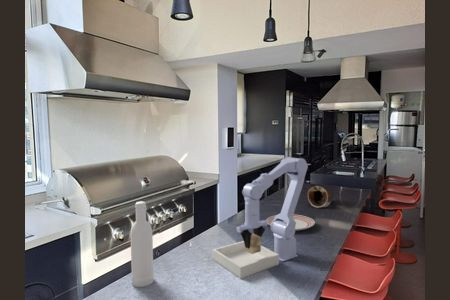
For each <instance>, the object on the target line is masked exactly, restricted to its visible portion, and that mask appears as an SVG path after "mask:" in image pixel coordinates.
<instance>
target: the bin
mask: <svg viewBox="0 0 450 300" xmlns="http://www.w3.org/2000/svg"><path fill="white" fill-rule="evenodd" d="M211 250H212V251H211V253H212V261H214V262H215V263H217V264H219V265H220V266H221V267H222V268H224V269H225V270H227V271H229V272H230V273H231V274H233V275H234V276H236V278H238V279H240V280H241V279H244V278H245V279H246V278H247V277H249V276H253V275H255V274H256V275H257V274H258V273H261V272H263V271H266V270H269V269H273V268H274V267H278V266H279V265H280V260H279V254H277V253H275V252H274V250H272V249H269V248H267V247H264V246H263V245H261V251H260V252H257V253H254V254H251V253H249V252H247V251H246V250H245V244H244V240H242V241H238V242H235V243H230V244H228V245H224V246H220V247H216V248H213V249H211Z"/></svg>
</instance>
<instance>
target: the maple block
mask: <svg viewBox="0 0 450 300" xmlns="http://www.w3.org/2000/svg"><path fill="white" fill-rule="evenodd" d="M261 241H262V237H260V236H258V235H255V234H254V233H252V235H251V238H250V248H249V249H248V248H246V247H245V250H246V251H247V252H249V253H251V254H254V253H257V252H260V251H261V246H262V242H261Z"/></svg>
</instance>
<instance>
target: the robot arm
mask: <svg viewBox="0 0 450 300" xmlns="http://www.w3.org/2000/svg"><path fill="white" fill-rule="evenodd" d="M308 167H309V166H308V163H307V160H306V159H305V158H302V157H300V158H299V157H298V158H297V157H291V156H285V157H284V158H283V159H281V160H280V163H279V164H278V165H276V166H275V167H274V168H273V169H272V170H271V171H269V172H268V173H266V172H265V173H261V174H260V176H259V177H257V178H256V179H253V180H252V182H251V183H249V182H248V183H246V184H245V185H244V186H243V189H242V190H241V193H242V195H243V198H244V212H245V213H244V219H245V220H244V223H242V224H241V225H239V226H236V233H238V234H240V236H241V237H242V241H244V244H245V247H246V248H248V249H249V248H250V238H251V235H252V234H255V235H258V236H260V237H261V238H262V237H263V235H264V233H265V231H266V228H265V227H268V224H267V221H266V219H265V220H260V199H261V198H262V196H263V193H265V191H266V190H268V189H269V188H270V187H271V186H273V184H274V181H275V180H276V179H278V178H280V177H281V176H282V175H284V174H287V175H288V177H289V178H290V182H289V186H288V189H287V191H286V196H285V198H284V202H283V205H282V208H281V210H280V213H278V214H275V215H276V216H275V215H274V216H275V219H274V221H273V222H272V224H271V225H270V231H271V232H272V233H273V236H274V237H273V238H274V239H273V243H274V244H273V246H274V247H273V248H274V249H273V252H275V253H277V254H279V262H280V261H281V262H285V261H289V260H291V259H294V258H297V257H298V254H297V239H296V237H295V234H296V231H295V226H296V222H295V220H294V219H293V214H294V215H295V211H296V208H297V204H298V201H299V198H300V195H301V192H302V188H303V185H304V182H305V177H306V174H307V170H308ZM283 221H286V222H287V223H286V222H283ZM251 230H253V233H252V232H250V231H251Z"/></svg>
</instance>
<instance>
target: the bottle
mask: <svg viewBox="0 0 450 300" xmlns="http://www.w3.org/2000/svg"><path fill="white" fill-rule="evenodd" d="M134 204H135V205H134V208H135V222H134V223H133V224H132V226H131V228H130V231H129V232H130V233H129V235H130V257H131V258H130V259H131V260H130V263H131V284H132V285H133V287H136V288H145V287H149V286H150V285H151V284H153V282H154V281H155V280H154V279H155V278H154V274H155V273H154V243H153V241H154V239H153V228H152V225H151V223H150V222H149V221H147V203H146V201H143V200H142V201H136V203H134Z"/></svg>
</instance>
